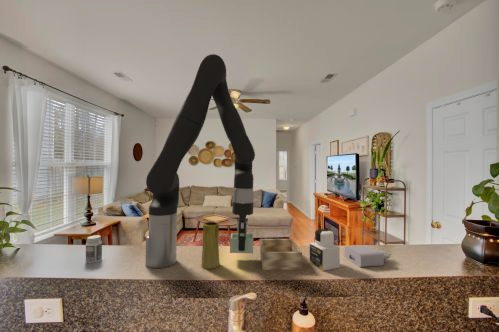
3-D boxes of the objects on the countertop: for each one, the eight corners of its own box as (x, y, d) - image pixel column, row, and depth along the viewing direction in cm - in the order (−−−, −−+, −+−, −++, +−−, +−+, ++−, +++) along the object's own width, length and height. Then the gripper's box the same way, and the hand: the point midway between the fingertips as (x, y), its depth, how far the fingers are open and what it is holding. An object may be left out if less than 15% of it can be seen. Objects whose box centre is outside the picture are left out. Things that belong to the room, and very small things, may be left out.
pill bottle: (99, 256, 83) (99, 234, 83) (103, 260, 80) (104, 236, 80) (83, 260, 79) (84, 236, 79) (87, 264, 76) (88, 239, 76)
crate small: (229, 252, 77) (230, 238, 77) (230, 246, 83) (231, 233, 84) (252, 253, 77) (253, 238, 77) (252, 247, 84) (252, 233, 84)
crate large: (262, 269, 73) (262, 252, 73) (259, 252, 88) (259, 238, 88) (302, 269, 73) (302, 252, 73) (292, 253, 88) (292, 239, 88)
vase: (215, 270, 72) (216, 226, 73) (198, 268, 74) (198, 224, 74) (221, 262, 78) (222, 221, 79) (205, 261, 80) (206, 220, 80)
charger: (399, 265, 78) (360, 268, 75) (379, 255, 87) (344, 257, 84) (399, 252, 78) (360, 254, 75) (379, 243, 87) (344, 245, 84)
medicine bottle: (309, 262, 79) (309, 228, 79) (325, 260, 81) (325, 227, 82) (322, 271, 72) (322, 234, 72) (340, 268, 75) (340, 232, 75)
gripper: (233, 197, 88) (232, 240, 88) (231, 203, 73) (229, 254, 73) (252, 198, 88) (251, 241, 88) (254, 203, 74) (252, 255, 73)
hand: (241, 247), depth 80 cm, fingers closed on crate small, 6 cm apart
